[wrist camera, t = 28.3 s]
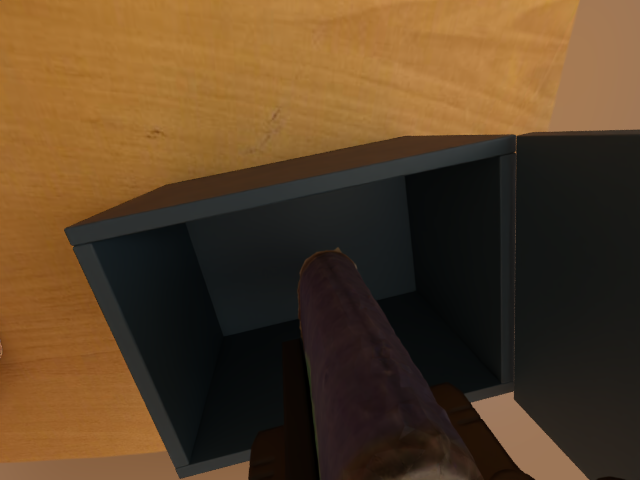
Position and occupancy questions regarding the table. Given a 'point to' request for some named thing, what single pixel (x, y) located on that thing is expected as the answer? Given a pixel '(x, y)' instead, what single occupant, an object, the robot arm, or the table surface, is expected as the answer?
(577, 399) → the lunchbox lid
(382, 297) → the box
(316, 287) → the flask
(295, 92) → the table surface
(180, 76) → the table surface
